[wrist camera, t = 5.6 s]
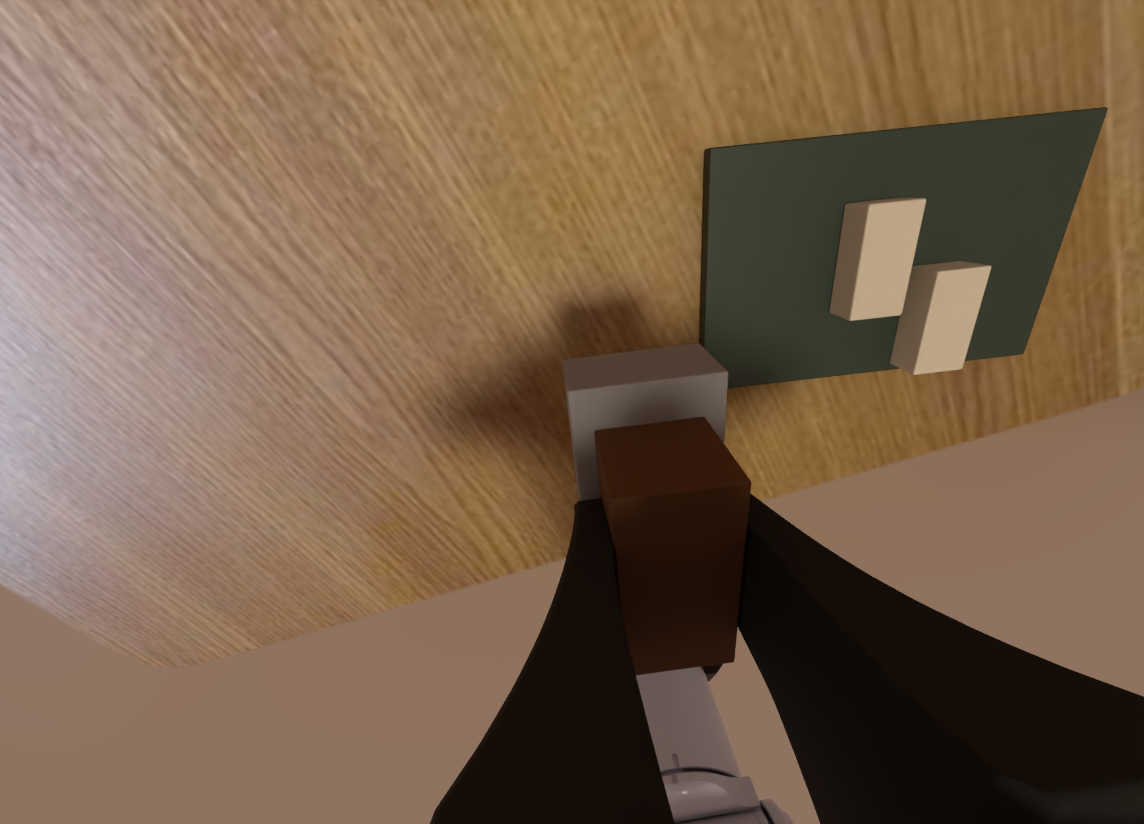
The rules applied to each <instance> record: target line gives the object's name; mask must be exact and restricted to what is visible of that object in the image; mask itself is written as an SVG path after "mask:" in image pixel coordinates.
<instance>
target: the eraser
mask: <svg viewBox="0 0 1144 824" xmlns="http://www.w3.org/2000/svg"><path fill="white" fill-rule="evenodd" d="M562 367H563V375H564V384H565V392H566V401H567V409H568V417H569V426H570V434H571V442H572V451H573V459H574V468H575V476H576V484H577V493H578V501H582V500H590V499H597V498H602V502H603V505H604V509H605V513H606V516H607V520H608V524H609V528H610V532H611V536H612V545H613V556H614V567H615V577H616V587H617V594H618V600H619V605H620V609H621V614H622V618H623V623H624V627H625V631H626V636H627V640H628V644H629V648H630V653H631V657H632V661H633V665H634V669H635V674H636V675H643V674H650V673H657V672H665V671H672V670H679V669H687V668H694V667H701V666H708V665H716V664H723V663H730V662H734V657H735V646H736V636H737V626H738V616H739V605H740V595H741V584H742V574H743V564H744V553H745V543H746V532H747V522H748V512H749V501H750V491H751V481H750V480H749V478H748V477H747V475H746V474H745V473H744V471H743V470H742V468H741V467H740V466H739V464H738V463H737V461H736V460H735V459H734V457H733V456H732V454H731V453H730V452H729V450H728V449H727V447H726V446H725V445H724V437H725V420H726V403H727V386H728V371H727V370H726V369H725V368H724V367H723V366H722V365H721V364H720V363H718V362H717V361H716V360H715V359H714V358H713V357H712V356H711V355H710V354H709V353H708V352H707V351H706V350H705V349H704V348H703V347H702V346H701V345H700V344H699V343H694V344H686V345H678V346H670V347H662V348H654V349H645V350H637V351H629V352H621V353H613V354H605V355H597V356H588V357H580V358H572V359H564V360H562Z"/></svg>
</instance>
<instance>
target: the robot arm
mask: <svg viewBox="0 0 1144 824" xmlns="http://www.w3.org/2000/svg"><path fill="white" fill-rule="evenodd" d="M574 508H575V515H574V525H573V531H572V536H571V541H570V546H569V550H568V553H567V557H566V561H565V565H564V569H563V572H562V575H561V578H560V581H559V584H558V587H557V590H556V593H555V596H554V599H553V602H552V604H551V607H550V609H549V612H548V614H547V617H546V619H545V622H544V624H543V627H542V629H541V631H540V633H539V636H538V638H537V640H536V642H535V645H534V647H533V649H532V651H531V653H530V655H529V657H528V659H527V661H526V663H525V665H524V667H523V669H522V671H521V673H520V675H519V677H518V679H517V681H516V682H515V684H514V686H513V688H512V690H511V692H510V694H509V695H508V697H507V699H506V700H505V702H504V704H503V706H502V707H501V709H500V710H499V712H498V714H497V716H496V717H495V719H494V721H493V722H492V724H491V726H490V727H489V729H488V731H487V733H486V734H485V736H484V738H483V739H482V741H481V742H480V744H479V745H478V747H477V749H476V750H475V752H474V753H473V755H472V757H471V758H470V759H469V761H468V762H467V764H466V765H465V767H464V768H463V770H462V771H461V772H460V774H459V775H458V777H457V778H456V780H455V781H454V783H453V784H452V786H451V787H450V789H449V790H448V792H447V793H446V795H445V796H444V798H443V799H442V801H441V802H440V804H439V805H438V806H437V808H436V810H435V812H434V814H433V817H432V820H431V823H430V824H795V823H794V822H793V820H792V819H791V818H790V817H789V815H788V814H786V813H785V812H784V811H783V810H782V809H780V808H779V807H778V806H777V804H776V803H774V802H773V801H772V800H771V799H766V800H761V801H759V800H758V797H757V795H756V792H755V789H754V786H753V783H752V781H751V778H750V777H742V776H741V774H740V771H739V768H738V765H737V762H736V759H735V757H734V754H733V751H732V748H731V745H730V743H729V740H728V737H727V734H726V731H725V728H724V726H723V723H722V720H721V717H720V714H719V711H718V709H717V706H716V703H715V700H714V697H713V694H712V692H711V689H710V686H709V683H708V680H707V677H706V675H705V672H704V669H703V666H701V667H694V668H687V669H679V670H672V671H665V672H657V673H650V674H643V675H636V674H635V669H634V665H633V661H632V657H631V653H630V648H629V644H628V640H627V636H626V631H625V627H624V623H623V618H622V614H621V609H620V605H619V600H618V594H617V587H616V577H615V567H614V556H613V545H612V536H611V532H610V528H609V524H608V520H607V516H606V513H605V509H604V505H603V502H602V498H597V499H590V500H582V501H578V502H577V503H576V504H575V505H574ZM738 628H739V630H740V632H741V634H742V636H743V638H744V640H745V642H746V644H747V646H748V648H749V650H750V652H751V654H752V656H753V658H754V660H755V662H756V664H757V666H758V668H759V670H760V672H761V674H762V676H763V678H764V680H765V682H766V684H767V687H768V689H769V691H770V693H771V695H772V698H773V700H774V702H775V704H776V707H777V710H778V712H779V715H780V717H781V720H782V723H783V725H784V728H785V730H786V733H787V735H788V738H789V740H790V743H791V746H792V748H793V751H794V753H795V756H796V759H797V761H798V764H799V767H800V769H801V772H802V775H803V778H804V780H805V783H806V786H807V788H808V791H809V794H810V796H811V799H812V801H813V804H814V807H815V810H816V812H817V815H818V818H819V821H820V824H1144V697H1143V696H1140V695H1137V694H1135V693H1132V692H1129V691H1127V690H1124V689H1121V688H1119V687H1116V686H1113V685H1110V684H1108V683H1105V682H1102V681H1099V680H1096V679H1094V678H1091V677H1089V676H1086V675H1083V674H1080V673H1078V672H1075V671H1072V670H1070V669H1067V668H1065V667H1062V666H1060V665H1057V664H1054V663H1052V662H1050V661H1048V660H1045V659H1042V658H1040V657H1038V656H1036V655H1033V654H1030V653H1028V652H1026V651H1023V650H1021V649H1019V648H1016V647H1014V646H1011V645H1009V644H1007V643H1004V642H1002V641H1000V640H998V639H996V638H993V637H991V636H989V635H987V634H984V633H982V632H980V631H978V630H975V629H973V628H971V627H969V626H967V625H965V624H963V623H961V622H959V621H957V620H954V619H952V618H950V617H948V616H946V615H944V614H942V613H940V612H938V611H936V610H934V609H932V608H930V607H928V606H926V605H924V604H922V603H920V602H918V601H916V600H914V599H912V598H910V597H908V596H906V595H905V594H903V593H901V592H899V591H897V590H896V589H894V588H892V587H890V586H888V585H887V584H885V583H883V582H881V581H879V580H878V579H876V578H874V577H872V576H870V575H869V574H867V573H865V572H864V571H862V570H860V569H859V568H857V567H855V566H854V565H852V564H851V563H849V562H847V561H846V560H844V559H842V558H841V557H839V556H838V555H836V554H835V553H833V552H832V551H830V550H829V549H827V548H825V547H824V546H822V545H821V544H819V543H818V542H817V541H815V540H814V539H812V538H811V537H809V536H808V535H806V534H805V533H803V532H802V531H801V530H799V529H798V528H796V527H795V526H794V525H792V524H791V523H789V522H788V521H787V520H785V519H784V518H782V517H781V516H780V515H778V514H777V513H776V512H774V511H773V510H772V509H770V508H769V507H768V506H766V505H765V504H763V503H762V502H761V501H760V500H758V499H757V498H756V497H754V496H753V495H752V494H750V501H749V512H748V522H747V532H746V543H745V553H744V564H743V574H742V584H741V595H740V605H739V616H738Z"/></svg>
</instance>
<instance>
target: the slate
mask: <svg viewBox="0 0 1144 824" xmlns="http://www.w3.org/2000/svg"><path fill="white" fill-rule="evenodd" d="M1107 110H1108V108H1106V107H1103V108H1094V109H1084V110H1074V111H1065V112H1055V113H1045V114H1036V115H1026V116H1016V117H1006V118H997V119H987V120H977V121H968V122H958V123H948V124H939V125H929V126H919V127H910V128H900V129H890V130H881V131H871V132H861V133H851V134H842V135H832V136H822V137H813V138H803V139H793V140H784V141H774V142H764V143H755V144H745V145H735V146H726V147H716V148H709V149H706V150H705V164H704V202H703V240H702V278H701V316H700V345H701V346H702V347H703V348H704V349H705V350H706V351H707V352H708V353H709V354H710V355H711V356H712V357H713V358H714V359H715V360H716V361H717V362H718V363H720V364H721V365H722V366H723V367H724V368H725V369H726V370H727V371H728V386H727V388H734V387H743V386H751V385H760V384H769V383H777V382H786V381H795V380H803V379H812V378H821V377H829V376H838V375H847V374H855V373H864V372H873V371H882V370H890V369H899V368H898V367H896V366H894V365H892V364H890V360H891V355H892V350H893V346H894V341H895V337H896V332H897V327H898V323H899V318H900V315H899V316H890V317H881V318H873V319H864V320H855V321H849V320H847V319H844V318H842V317H839V316H837V315H834V314H831V313H830V312H829V311H830V304H831V297H832V290H833V283H834V277H835V270H836V263H837V256H838V250H839V243H840V236H841V229H842V222H843V216H844V209H845V205H846V204H847V203H856V202H865V201H874V200H884V199H893V198H925V199H926V204H925V209H924V213H923V218H922V223H921V227H920V232H919V237H918V241H917V246H916V250H915V255H914V260H913V264H912V266H918V265H927V264H937V263H946V262H955V261H964V262H971V263H977V264H984V265H990V266H991V270H990V274H989V277H988V281H987V284H986V288H985V291H984V295H983V298H982V302H981V305H980V309H979V312H978V315H977V319H976V322H975V326H974V329H973V333H972V336H971V340H970V343H969V347H968V350H967V354H966V357H965V361H968V360H977V359H986V358H994V357H1003V356H1012V355H1020V354H1023V353H1024V351H1025V348H1026V345H1027V342H1028V339H1029V336H1030V333H1031V330H1032V328H1033V325H1034V322H1035V319H1036V316H1037V313H1038V310H1039V307H1040V304H1041V301H1042V298H1043V296H1044V293H1045V290H1046V287H1047V284H1048V281H1049V278H1050V275H1051V272H1052V269H1053V266H1054V264H1055V261H1056V258H1057V255H1058V252H1059V249H1060V246H1061V243H1062V240H1063V237H1064V235H1065V232H1066V229H1067V226H1068V223H1069V220H1070V217H1071V214H1072V211H1073V208H1074V205H1075V203H1076V200H1077V197H1078V194H1079V191H1080V188H1081V185H1082V182H1083V179H1084V176H1085V173H1086V171H1087V168H1088V165H1089V162H1090V159H1091V156H1092V153H1093V150H1094V147H1095V144H1096V141H1097V139H1098V136H1099V133H1100V130H1101V127H1102V124H1103V121H1104V118H1105V115H1106V112H1107Z"/></svg>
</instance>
